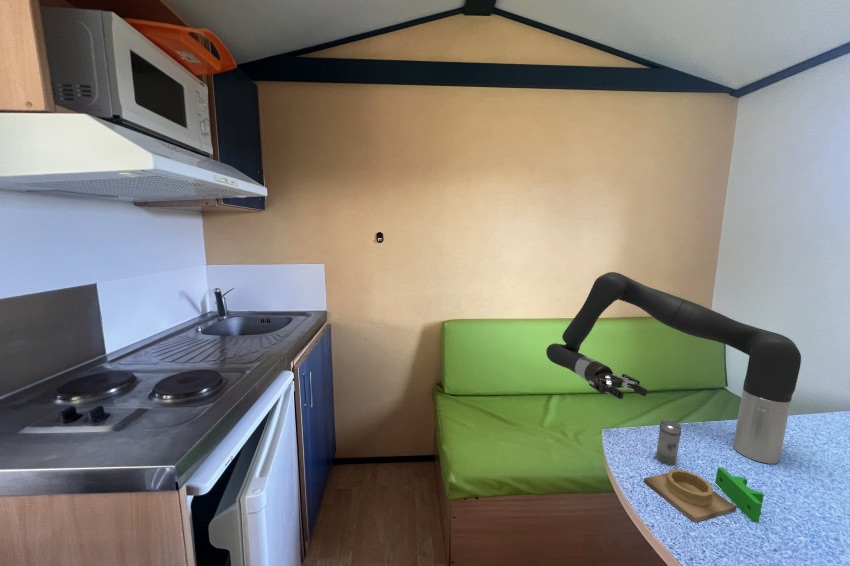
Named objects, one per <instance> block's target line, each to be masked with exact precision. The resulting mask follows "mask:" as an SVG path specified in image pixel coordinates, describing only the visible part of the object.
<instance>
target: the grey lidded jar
mask: <svg viewBox="0 0 850 566" xmlns="http://www.w3.org/2000/svg"><path fill="white" fill-rule="evenodd" d="M658 429H659V431H658V432H659V433H658V436H657V437H658V438H657V444H656V445H657V446H656V452H655V453H656V454H655V458H656V460H657V461H659V462H660V463H661V464H663V465H666V466H671V467H673V466H675V465H677V460H678V453H679V446H680V440H681V439H680V438H681V435H682V426H681V425H680V424H678V423H677V422H674V421H672V420H669V419H668V420H667V419H663V420H661V421H660V423H659V427H658Z"/></svg>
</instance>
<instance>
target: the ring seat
mask: <svg viewBox="0 0 850 566" xmlns="http://www.w3.org/2000/svg"><path fill="white" fill-rule="evenodd" d="M643 483H645V485H647V486H648V487H649V488H650V489H652V490H653V491H654V492H656V494H658V495H659V496H661V498H663V499H664V500H666V501H667V502H668V503H669V504H671V505H672V506H673V507H674V508H675V509H676V510H678V511H680V512H681V514H683V515H684V516H685V517H687V518H688V519H689V520H690V521H691V522H693V523H698V522H701V521H704V520H705V521H706V520H709V519H711V518H716V517H719V516H722V515H725V514H729V512H730V513H732V512H736V511H737V505H736V504H733V502H730V501H729V500H728V499H726V498H724V497H723V496H722V495H720V494H718V493H717V492H715V491H714V488H713V486H712V485H711V484H710V483H709V481H707V480H705V479H704V478H703V477H701V476H700V475H698V474H696V473H693V472H690V471H689V470H684V469H678V468H675V469H669V470H668V472H666V473H662V474H656V475H652V476H648V477H644V479H643Z"/></svg>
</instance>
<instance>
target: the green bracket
mask: <svg viewBox="0 0 850 566" xmlns="http://www.w3.org/2000/svg"><path fill="white" fill-rule="evenodd" d="M714 483H716V484H717V485H718V486H719V487H720V488H721V489H722V490H721V489H720V488H719V487H718V486H717V485H716V484H715V485H716V486H717V487H718V488H719V489H720V490H721V491H722V492H723V493H724V495H725V496H727V497H728V499H730V500H731V501H732V503H734V505H735V506H736V507H737V508H738V509H739V510H741V512H742V513H744V515H745V516H746V517H747V518H748V519H749V520H751V522H753V523H759V522H760V516H761V511H762V507H763V502H764V498H765V497H764V496H765V494H764V493H763V492H762V491H758V490H754V489H752V488H750V487H749V486H747V484H748V479H747V477H743V476H734V475H731V474H730V473H729V472H728V471H727V469H725V468H724V467H722V466H721V467H720V466H718V467H717V471H716V476H715V481H714Z"/></svg>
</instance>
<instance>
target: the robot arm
mask: <svg viewBox="0 0 850 566" xmlns="http://www.w3.org/2000/svg"><path fill="white" fill-rule="evenodd" d="M587 295H588V296H587V298H586V300H585V301H584V303H583V305H582V306H581V308H580V309H579V310H578V313H577V314H576V315H575V316H574V318H573V319H572V320H571V322H570V323H569V324H568V325H567V327H566V329H565V330H564V331H563V333H562V336H561V338H562V340H563V342H564V343H565V344H563V343H552V344H551V343H550V344H549V345H548V346H547V347H546V349H545V350H546V352H545V353H546V357H547V359H548V360H549V361H550V362H552V363H554V364H555V365H558V366H560V367H563V368H566V369H568V370H569V371H571V372H573V373H575V374H576V375H577V376H579V377H580V378H581V379H583V380H585V381H587V382H588V385H589V387H591V388H593V389H594V390H596V391H597V392H598V393H599V394H605V393H606V394H608V395H612V396H614V397H616V398H617V399H618V400H623V399H624V396H625V395H624V392H623V391H622V390H625V391H627V390H630V391H634V392H635V393H637V394H638V395H640V396H642V397H647V394H648V390H647V388H645V387H643V386H641V385H640V383H641V381H640V380H638V379H636V378H635V377H631V376H630V375H627V374H626V373H622V374H621V376H620V375H618V374H614V372H613V371H612V368H610V367H609V366H608V365H606V364H604V363H602V362H600V361H598V360H596V359H594V358H592V357H589V356H587V355H585V354H583V353H580V352H579V351H580V348H581V345H582V343H583V342H584V341H585V340H586V339H587V337H588V336H589V334H590V333H591V331H592V330H593V328H594V327H595V324H596V323H597V321H598V319H599V318H600V316H601V315H602V314H603V313H604V312H605V311H606V309H608V307H609V308H610V306H611V305H612V304H613V303H614V302H616V301H622V302H625V303H628V304H631V305H633V306H635V307H638V308H639V309H641V310H643V311H644V312H646V313H647V314H648V315H650V316H651V317H652V318H653V319H655V320H657V321H658V322H660V323H661V324H663V325H665V326H667V327H670V328H672V329H674V330H676V331H678V332H681V333H683V334H686V335H688V336H693V337H697V338H700V339H704V340H709V341H713V342H714V341H715V342H718V343H721V344H724V345H726V346H728V347H731V348H733V349H735V350H737V351H740V353H741V352H742V353H743V354H745V355H747V356H749V357H748V361H747V362H748V363H747V367H746V368H747V369H746V374H745V378H744V380H743V387H742V393H741V399H740V404H739V410H738V415H737V420H736V427H735V432H734V438H733V442H732V443H733V444H732V447H733V448H734V450H735V451H736V452H737V453H739V454H741V455H742V456H744V457H746V458H748V459H750V460H753V461H756V462H760V463H764V464H769V465H772V464H773V465H774V464H778V463H779V462H780V458H781V455H782V451H783V450H782V449H783V445H784V440H785V435H786V429H787V425H788V418H789V412H790V408H791V403H792V400H793V399H792V397H793V395H794V392H795V390H796V388H797V382H798V378H799V373H800V369H801V365H802V355H801V352H800V350H799V348H798V346H797V345H796V343H795V342H794V341H793V339H791V338H789V337H787V336H785V335H783V334H780V333H777V332H775V331H770V330H766V329H762V328H759V327H757V326H752V325H750V324H745V323H743V322H740V321H737V320H734V319H733V318H730V317H729V316H726V315H724V314H722V313H720V312H717V311H715V310H712V309H711V308H708V307H706V306H703V305H701V304H698V303H696V302H692V301H691V300H687V299H684V298H682V297H680V296H676V295H673V294H671V293H669V292H665V291H662V290H658V289H655V288H652V287H650V286H648V285H644V284H642V283H640V282H638V281H636V280H635V279H632V278H630V277H628V276H626V275H625V274H622V273H619V272H616V271H615V272H614V271H611V272H606V273H604V274H601V275H600V276H598V277H597V278H596V279H595V280H594V282H593V284H592V287H591V288H590V290H589V293H588V294H587ZM623 384H624V385H623ZM620 389H621V390H620Z"/></svg>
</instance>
